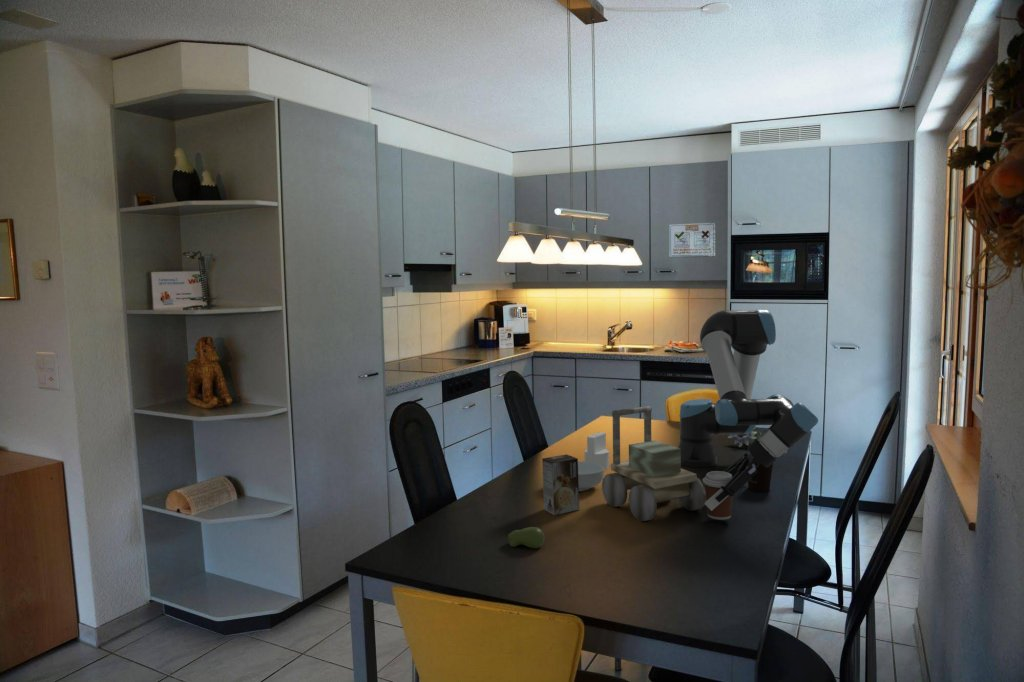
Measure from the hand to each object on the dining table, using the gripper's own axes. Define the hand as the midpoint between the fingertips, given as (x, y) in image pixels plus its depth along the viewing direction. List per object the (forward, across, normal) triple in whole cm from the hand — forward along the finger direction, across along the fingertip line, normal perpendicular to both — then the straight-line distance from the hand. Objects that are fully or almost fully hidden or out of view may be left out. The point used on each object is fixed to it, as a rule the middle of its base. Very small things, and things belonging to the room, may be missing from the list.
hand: (707, 501), depth 191 cm
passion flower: (-9, +91, -17) cm, 93 cm away
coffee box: (+34, +2, +26) cm, 43 cm away
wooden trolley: (+15, +9, +7) cm, 19 cm away
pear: (+38, -27, +29) cm, 55 cm away
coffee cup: (+1, 0, -5) cm, 5 cm away
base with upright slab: (+30, +50, +22) cm, 63 cm away
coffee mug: (-8, +34, -16) cm, 39 cm away
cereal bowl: (+33, +24, +24) cm, 48 cm away
